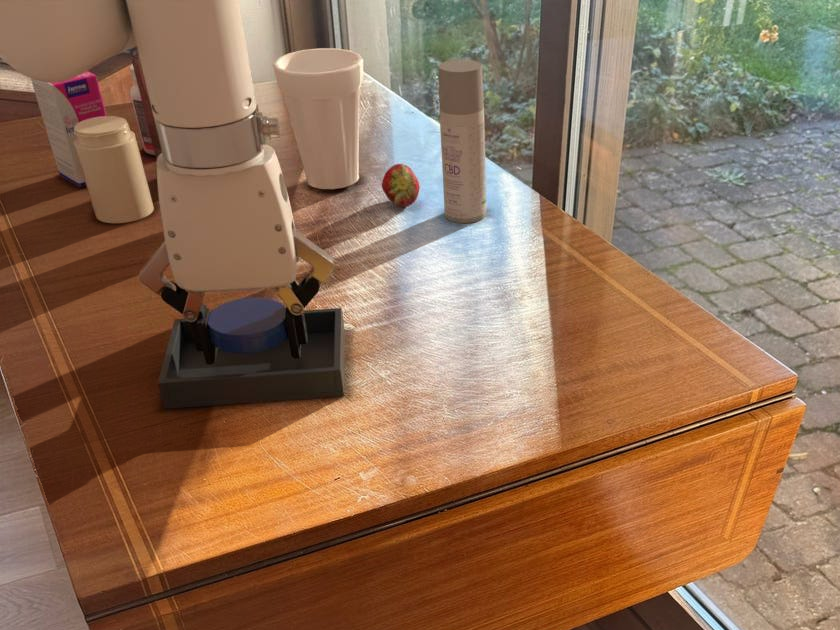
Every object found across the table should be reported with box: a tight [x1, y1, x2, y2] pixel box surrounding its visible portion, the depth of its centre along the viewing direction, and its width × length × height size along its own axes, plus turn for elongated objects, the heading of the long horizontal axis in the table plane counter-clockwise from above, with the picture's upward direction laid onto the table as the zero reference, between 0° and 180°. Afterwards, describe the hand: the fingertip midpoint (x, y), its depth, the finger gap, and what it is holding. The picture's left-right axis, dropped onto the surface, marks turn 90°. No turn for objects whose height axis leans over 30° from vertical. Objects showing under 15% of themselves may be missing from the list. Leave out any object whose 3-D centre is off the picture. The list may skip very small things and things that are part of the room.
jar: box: [74, 115, 155, 224], centre depth 110 cm, size 7×7×9 cm
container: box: [438, 58, 487, 224], centre depth 105 cm, size 5×5×15 cm
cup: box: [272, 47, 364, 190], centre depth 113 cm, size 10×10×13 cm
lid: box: [207, 297, 288, 353], centre depth 85 cm, size 7×7×2 cm
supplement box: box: [30, 70, 107, 188], centre depth 117 cm, size 6×6×12 cm
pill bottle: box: [129, 64, 155, 156], centre depth 124 cm, size 5×5×10 cm
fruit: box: [381, 163, 421, 208], centre depth 111 cm, size 4×6×5 cm
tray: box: [157, 307, 346, 410], centre depth 87 cm, size 15×11×2 cm
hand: (254, 352), depth 86 cm, fingers closed on lid, 6 cm apart
